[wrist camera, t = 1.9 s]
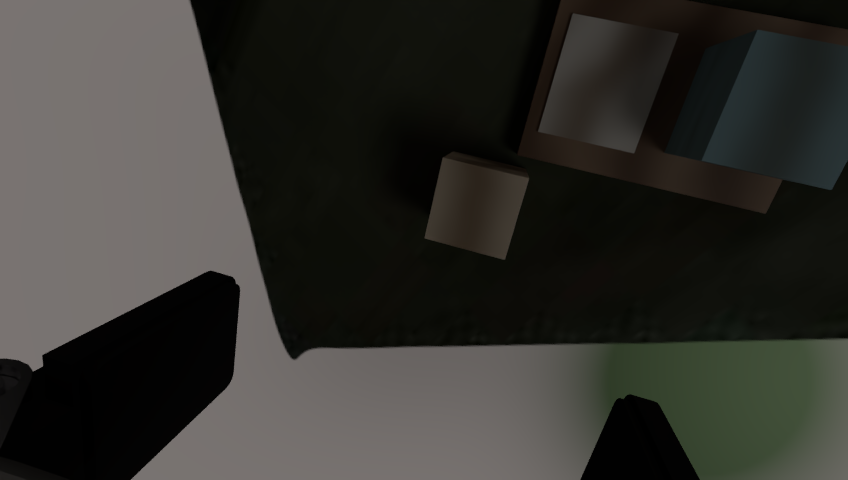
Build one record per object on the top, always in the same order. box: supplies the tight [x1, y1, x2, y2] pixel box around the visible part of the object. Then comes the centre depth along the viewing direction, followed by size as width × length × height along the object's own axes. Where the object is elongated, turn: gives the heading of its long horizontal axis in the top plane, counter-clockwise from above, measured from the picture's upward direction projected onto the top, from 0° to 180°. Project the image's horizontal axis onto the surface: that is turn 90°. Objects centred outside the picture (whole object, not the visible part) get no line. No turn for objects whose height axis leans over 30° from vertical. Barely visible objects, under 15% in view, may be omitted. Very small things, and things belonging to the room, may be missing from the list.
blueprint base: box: [517, 0, 848, 214], centre depth 26 cm, size 18×12×8 cm, turn 77°
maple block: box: [425, 151, 529, 260], centre depth 32 cm, size 6×6×6 cm
